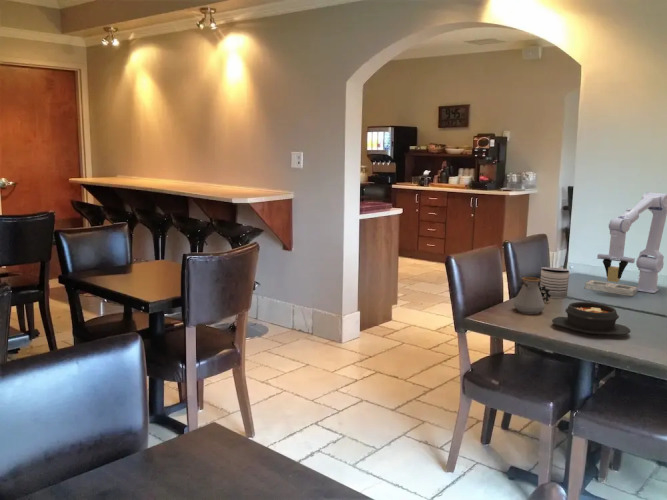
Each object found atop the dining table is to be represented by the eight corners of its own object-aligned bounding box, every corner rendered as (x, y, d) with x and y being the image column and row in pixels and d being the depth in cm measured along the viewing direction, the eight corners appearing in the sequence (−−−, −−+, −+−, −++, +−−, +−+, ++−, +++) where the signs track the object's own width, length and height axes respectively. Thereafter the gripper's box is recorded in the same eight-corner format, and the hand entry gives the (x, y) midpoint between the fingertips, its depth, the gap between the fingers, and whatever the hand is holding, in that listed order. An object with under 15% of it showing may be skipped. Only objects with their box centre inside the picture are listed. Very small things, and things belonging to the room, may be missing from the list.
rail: (590, 285, 280) (591, 280, 279) (637, 292, 267) (638, 287, 267) (584, 288, 273) (585, 283, 272) (632, 296, 260) (633, 290, 260)
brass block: (609, 279, 262) (611, 266, 261) (619, 281, 260) (621, 267, 259) (607, 281, 259) (608, 267, 258) (616, 282, 257) (618, 268, 255)
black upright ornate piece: (533, 308, 237) (550, 303, 244) (534, 291, 235) (551, 287, 243) (519, 304, 242) (536, 300, 249) (520, 288, 240) (537, 284, 248)
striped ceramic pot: (535, 295, 257) (538, 267, 255) (543, 290, 266) (545, 264, 264) (563, 299, 251) (565, 271, 249) (570, 294, 260) (572, 267, 258)
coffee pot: (517, 306, 238) (520, 268, 236) (547, 310, 233) (550, 272, 230) (502, 318, 220) (505, 278, 218) (534, 323, 215) (538, 282, 212)
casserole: (548, 332, 205) (550, 308, 204) (554, 318, 222) (557, 296, 220) (629, 344, 194) (632, 319, 193) (630, 329, 211) (632, 306, 210)
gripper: (596, 245, 258) (593, 276, 261) (633, 249, 249) (629, 281, 252) (601, 243, 264) (598, 273, 266) (637, 247, 255) (633, 278, 257)
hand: (613, 277), depth 259 cm, fingers closed on brass block, 4 cm apart
